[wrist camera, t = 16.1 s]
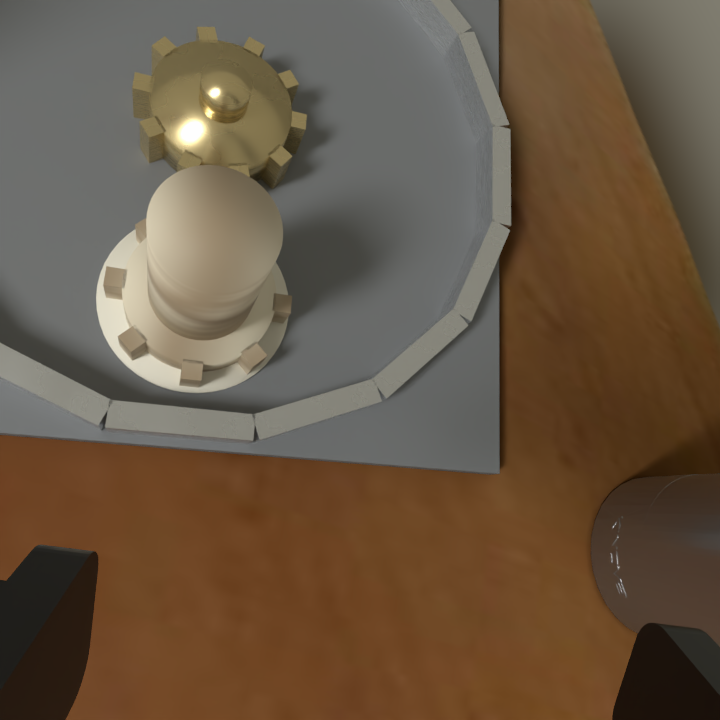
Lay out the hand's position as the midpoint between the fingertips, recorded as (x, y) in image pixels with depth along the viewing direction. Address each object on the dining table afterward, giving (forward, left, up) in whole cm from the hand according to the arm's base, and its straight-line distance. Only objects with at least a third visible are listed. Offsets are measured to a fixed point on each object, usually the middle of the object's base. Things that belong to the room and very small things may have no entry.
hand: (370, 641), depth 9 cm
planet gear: (+2, -12, -21) cm, 24 cm away
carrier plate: (+2, -21, -22) cm, 31 cm away
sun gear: (+2, -21, -22) cm, 31 cm away
